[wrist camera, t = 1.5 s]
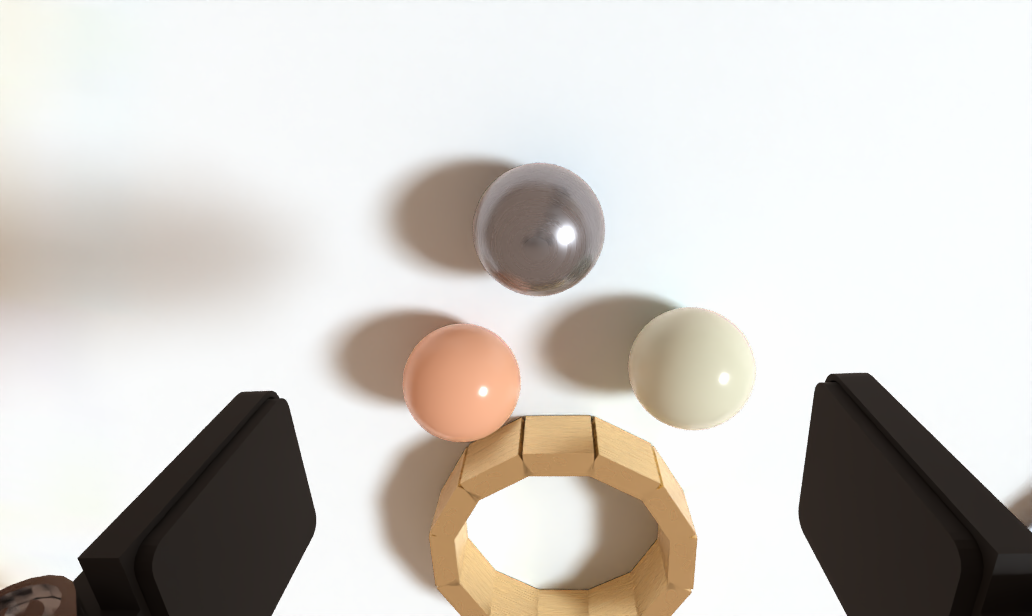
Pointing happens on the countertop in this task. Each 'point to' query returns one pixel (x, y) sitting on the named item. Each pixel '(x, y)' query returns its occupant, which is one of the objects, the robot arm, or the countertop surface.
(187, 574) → the robot arm
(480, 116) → the countertop surface
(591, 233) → the steel ball
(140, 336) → the countertop surface
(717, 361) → the cream ball
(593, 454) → the ring
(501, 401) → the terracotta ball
